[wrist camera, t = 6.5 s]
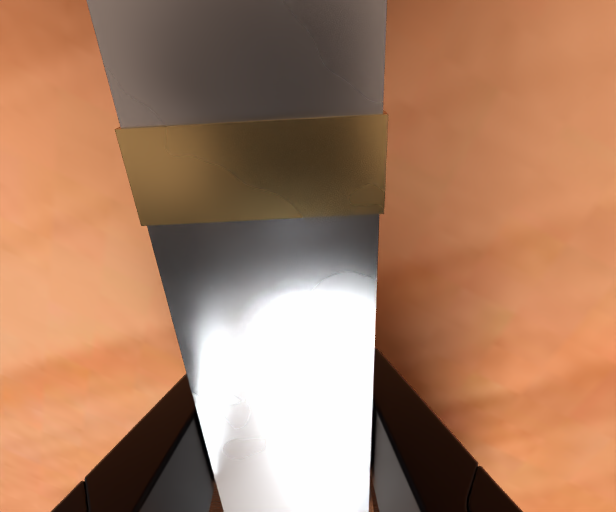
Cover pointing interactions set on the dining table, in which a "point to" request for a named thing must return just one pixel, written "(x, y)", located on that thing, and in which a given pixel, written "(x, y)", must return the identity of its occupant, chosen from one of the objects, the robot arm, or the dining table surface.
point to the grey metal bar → (262, 225)
